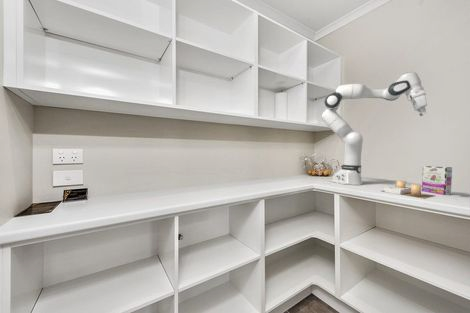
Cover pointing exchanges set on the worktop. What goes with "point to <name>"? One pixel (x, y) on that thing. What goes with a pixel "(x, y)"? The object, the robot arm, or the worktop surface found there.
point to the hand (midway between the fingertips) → (423, 115)
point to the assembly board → (415, 196)
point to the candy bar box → (437, 180)
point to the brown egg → (416, 190)
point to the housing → (398, 188)
